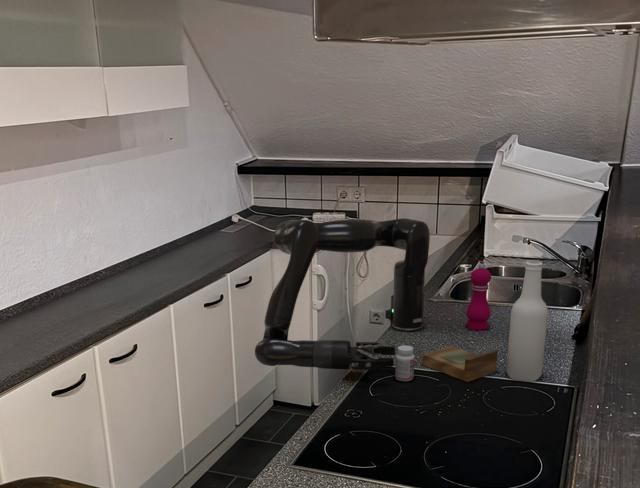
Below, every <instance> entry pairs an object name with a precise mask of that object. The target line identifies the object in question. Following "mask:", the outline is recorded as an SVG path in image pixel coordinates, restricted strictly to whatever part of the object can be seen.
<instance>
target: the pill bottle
mask: <svg viewBox="0 0 640 488" xmlns="http://www.w3.org/2000/svg"><path fill="white" fill-rule="evenodd" d="M394 370H395V373H394V378H395V380H397V381H399V382H410V381H412V380H414V377H415V355H414V347H413V346H410V345H400V346H399V345H398V347H397V354H395V369H394Z"/></svg>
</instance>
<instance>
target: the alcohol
mask: <svg viewBox="0 0 640 488" xmlns="http://www.w3.org/2000/svg"><path fill="white" fill-rule="evenodd" d="M543 265H544V264H543V262H542V261H540V260H527V261H526V262H525V266H524V270H525V271H524V278H523V283H522V290H521V294H520V297H519V298H518V299H517V300H516V301H515V302H513V304H512V308H511V311H510V320H509V321H510V323H509V331H508V332H509V333H508V334H509V335H508V343H507V344H508V346H507V356H506V366H505V367H506V368H505V369H506V370H505V372H506V374H507V376H508V378H510V379H513V380H515V381H520V382H534V381H537V380H539V379H540V378H541V377H542V376H543V375H542V374H543V365H544V356H545V348H546V347H545V346H546V338H547V337H546V336H547V327H548V318H549V309H548V305H547V304H546V302H545V301H544V300H543V297H542V270H543Z"/></svg>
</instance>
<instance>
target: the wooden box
mask: <svg viewBox="0 0 640 488" xmlns="http://www.w3.org/2000/svg"><path fill="white" fill-rule="evenodd" d="M498 353H499V351H498V350H496V349H492V350H489V351H485V352H483V353H480V354H479V353H478V354H476V353H473V352H471V351H468V350H465V349H462V348H459V347H456V346H453V345H448V346H446V347H443V348H439V349H436V350H432V351H430V352H426V353H423V354H422V366H424V367H426V368H427V367H428V368H430V369H432V370H435V371H437V372H440V373H443V374H445V375H447V376H449V377H453V378H456V379H458V380H461V381H463V382H465V383H470V382H472V381H474V380H477V379H481V378H484V377H486V376H489V375H492V374H495V373H497V364H498Z"/></svg>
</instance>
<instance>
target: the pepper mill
mask: <svg viewBox="0 0 640 488" xmlns="http://www.w3.org/2000/svg"><path fill="white" fill-rule="evenodd" d="M491 280H492V273H491V272H490V271H489V270H488V269H487V268H485V264H484V263H479V265H478V268H476V269H473V271H472V272H471V273H470V281H471V282H472V284H471V290H472V298H471V300H470V303H469V304H468V306H467V308H466V313H465V316H466V317H467V322H466V327H467V329H469V330H474V331H485V330H487V329H488V328H489V321H488V320H489V319H490V317H491V307H490V305H489V302H488V298H487V294H488V290H490V288H489V287H490V285H489V283H490V282H491Z"/></svg>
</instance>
